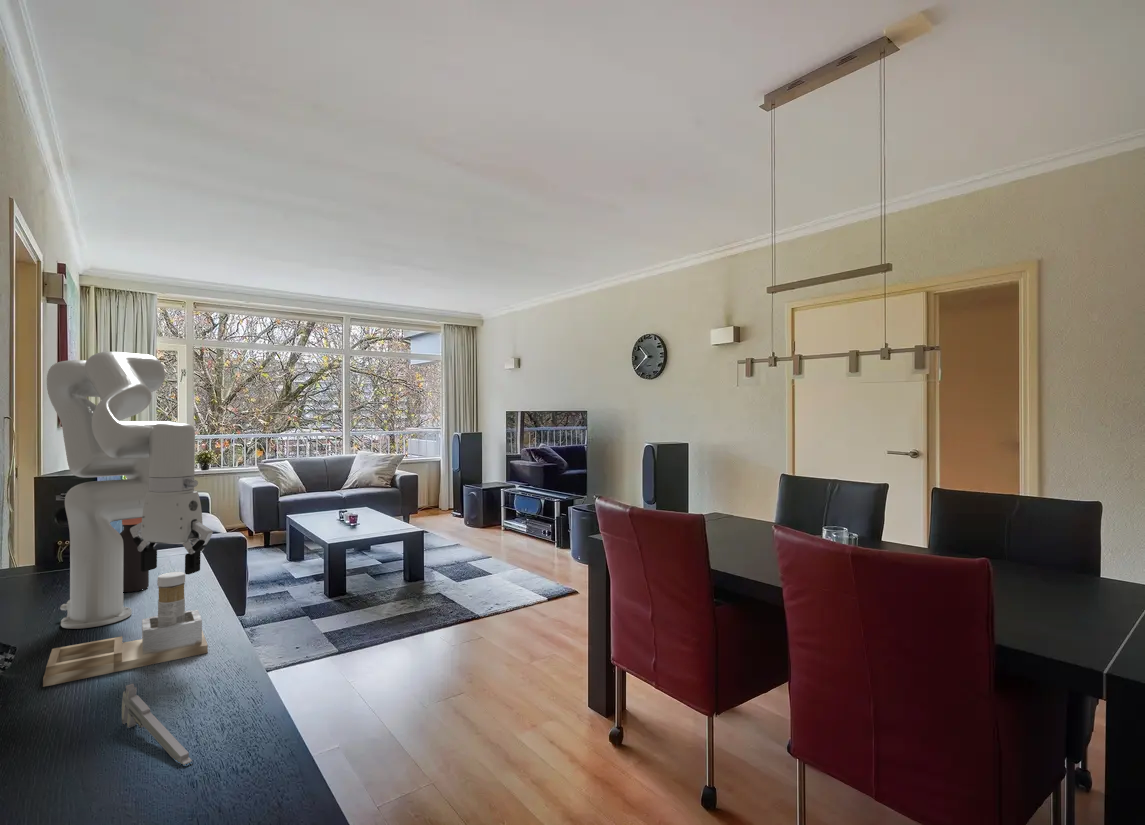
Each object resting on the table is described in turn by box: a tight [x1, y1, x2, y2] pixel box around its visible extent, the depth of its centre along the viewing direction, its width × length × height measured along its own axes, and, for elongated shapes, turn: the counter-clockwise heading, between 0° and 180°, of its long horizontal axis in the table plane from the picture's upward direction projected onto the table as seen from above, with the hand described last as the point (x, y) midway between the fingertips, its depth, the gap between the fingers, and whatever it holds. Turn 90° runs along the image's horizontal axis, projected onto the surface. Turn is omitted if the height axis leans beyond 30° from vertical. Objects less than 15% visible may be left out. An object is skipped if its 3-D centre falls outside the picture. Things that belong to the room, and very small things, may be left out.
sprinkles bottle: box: [156, 571, 186, 627], centre depth 117 cm, size 5×5×13 cm
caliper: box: [121, 683, 193, 765], centre depth 83 cm, size 20×1×6 cm, turn 56°
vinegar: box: [119, 517, 150, 593], centre depth 160 cm, size 7×7×20 cm
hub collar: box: [141, 609, 203, 655], centre depth 117 cm, size 9×9×4 cm
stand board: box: [42, 630, 209, 688], centre depth 113 cm, size 24×12×3 cm, turn 127°
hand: (170, 571), depth 117 cm, fingers open, 9 cm apart
